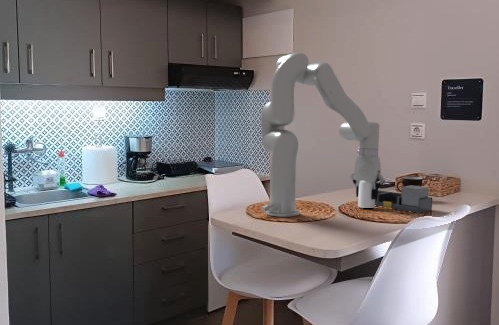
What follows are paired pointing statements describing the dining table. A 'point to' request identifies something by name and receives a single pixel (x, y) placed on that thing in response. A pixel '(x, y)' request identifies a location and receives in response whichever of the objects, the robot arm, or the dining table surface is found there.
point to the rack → (406, 199)
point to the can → (365, 195)
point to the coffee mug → (410, 182)
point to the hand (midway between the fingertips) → (366, 197)
